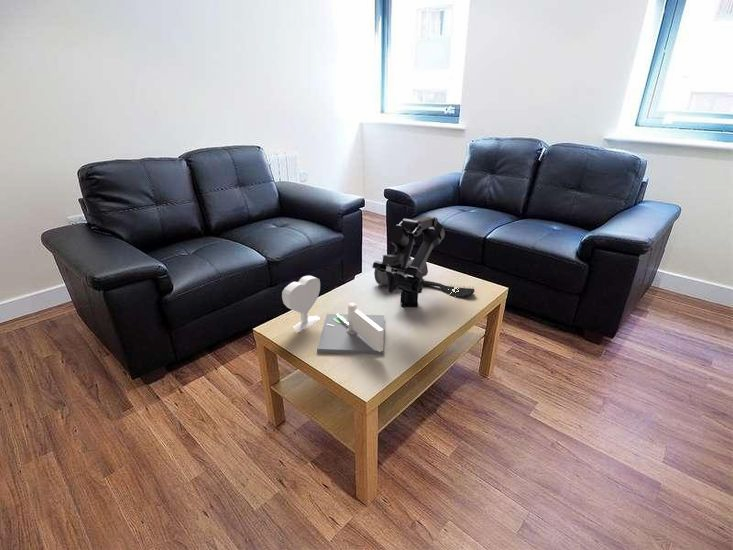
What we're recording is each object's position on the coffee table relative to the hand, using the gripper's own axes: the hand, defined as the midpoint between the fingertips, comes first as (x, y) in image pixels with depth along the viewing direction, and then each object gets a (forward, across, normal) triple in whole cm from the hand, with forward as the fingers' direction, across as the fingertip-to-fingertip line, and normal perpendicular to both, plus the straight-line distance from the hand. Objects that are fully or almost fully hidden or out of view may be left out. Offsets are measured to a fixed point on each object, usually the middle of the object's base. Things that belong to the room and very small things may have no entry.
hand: (390, 292), depth 138 cm
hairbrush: (-11, +3, +38) cm, 39 cm away
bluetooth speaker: (-9, -17, +32) cm, 37 cm away
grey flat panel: (+18, -8, -3) cm, 20 cm away
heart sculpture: (+20, -26, -9) cm, 34 cm away
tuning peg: (+17, -5, -5) cm, 19 cm away
